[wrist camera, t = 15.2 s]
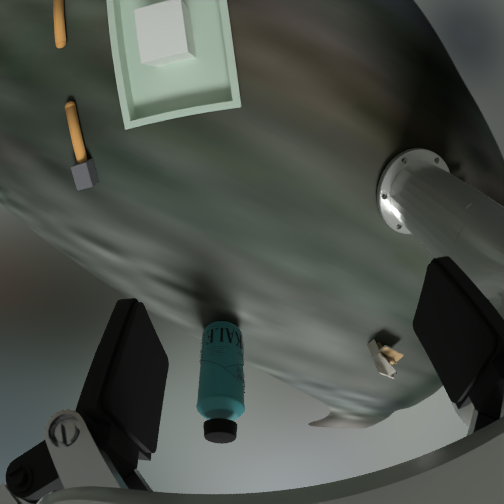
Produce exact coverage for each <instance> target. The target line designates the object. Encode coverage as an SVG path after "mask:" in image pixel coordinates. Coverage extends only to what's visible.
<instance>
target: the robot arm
mask: <svg viewBox="0 0 504 504" xmlns="http://www.w3.org/2000/svg"><path fill="white" fill-rule="evenodd" d="M377 205H378V209H379V212H380V214H381V216H382V218H383V219H384V221H385V222H386V223H387V224H388V225H389V226H390V227H391V228H392V229H394V230H395V231H397V232H400V233H403V234H413V235H414V236H415V237H416V238H417V239H418V240H419V241H420V242H421V243H422V245H423V246H424V247H425V248H426V249H427V250H428V251H429V252H430V253H431V254H432V255H433V256H434V259H433V260H432V261H431V263H430V264H429V265H428V267H427V272H426V276H425V280H424V284H423V288H422V292H421V295H420V299H419V303H418V306H417V310H416V313H415V316H414V320H413V329H414V331H415V333H416V335H417V337H418V338H419V340H420V342H421V344H422V346H423V347H424V349H425V351H426V353H427V355H428V357H429V358H430V360H431V362H432V364H433V366H434V368H435V370H436V372H437V374H438V376H439V378H440V380H441V382H442V384H443V386H444V388H445V390H446V392H447V394H448V396H449V398H450V400H451V402H452V405H453V407H454V409H455V411H456V412H457V414H458V415H459V417H460V418H461V419H462V421H463V422H464V423H465V424H466V425H467V426H469V430H468V434H467V436H466V437H464V438H462V439H460V440H458V441H456V442H454V443H451V444H449V445H447V446H445V447H442V448H440V449H438V450H435V451H433V452H430V453H428V454H425V455H423V456H421V457H418V458H415V459H412V460H409V461H407V462H404V463H401V464H398V465H395V466H392V467H389V468H386V469H383V470H379V471H376V472H372V473H369V474H365V475H361V476H357V477H353V478H349V479H345V480H341V481H336V482H331V483H326V484H321V485H316V486H310V487H303V488H296V489H289V490H281V491H272V492H262V493H246V494H178V493H163V492H153V490H152V489H151V488H150V486H149V485H148V484H147V483H146V481H145V480H144V478H143V477H142V475H141V474H140V473H139V471H138V470H137V464H138V459H139V460H151V453H155V451H156V448H157V441H158V440H157V439H158V433H159V425H160V418H161V411H162V404H163V398H164V391H165V385H166V379H167V373H168V366H169V362H168V357H167V355H166V353H165V351H164V349H163V346H162V344H161V342H160V340H159V338H158V336H157V334H156V332H155V329H154V327H153V325H152V322H151V320H150V318H149V316H148V313H147V311H146V309H145V306H144V304H143V303H142V302H138V300H137V299H135V298H132V299H121V300H118V301H117V303H116V305H115V308H114V310H113V312H112V315H111V317H110V320H109V322H108V324H107V327H106V329H105V332H104V334H103V337H102V339H101V342H100V344H99V346H98V348H97V351H96V353H95V356H94V359H93V361H92V364H91V367H90V369H89V372H88V375H87V378H86V381H85V383H84V386H83V389H82V392H81V395H80V398H79V401H78V404H77V408H76V411H73V410H69V409H67V410H61V411H59V412H56V413H55V414H54V415H53V416H52V417H51V418H50V419H49V420H48V422H47V424H46V427H45V433H44V436H45V440H44V441H43V442H41V443H39V444H38V445H36V446H35V447H33V448H32V449H30V450H29V451H27V452H26V453H24V454H23V455H21V456H19V457H18V458H16V459H15V460H13V461H12V462H11V463H10V465H9V466H8V468H7V472H6V483H7V484H4V483H2V484H1V485H0V504H504V207H503V206H501V205H500V204H498V203H497V202H495V201H494V200H492V199H491V198H489V197H488V196H486V195H485V194H483V193H482V192H480V191H478V190H477V189H475V188H474V187H472V186H470V185H469V183H465V182H464V181H462V180H460V179H459V178H457V177H455V176H454V175H452V174H450V171H449V168H448V166H447V165H446V163H445V161H444V160H443V159H442V158H441V157H440V156H439V155H437V154H436V153H434V152H432V151H430V150H427V149H423V148H413V149H408V150H406V151H404V152H401V153H400V154H398V155H397V156H396V157H394V158H393V159H392V160H391V161H390V163H389V164H388V165H387V166H386V168H385V169H384V171H383V173H382V175H381V178H380V180H379V184H378V188H377ZM501 298H502V303H501V306H500V308H499V309H498V311H497V310H496V309H495V308H494V306H493V305H492V304H491V303H490V302H489V300H488V299H501Z"/></svg>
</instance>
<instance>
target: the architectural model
mask: <svg viewBox="0 0 504 504" xmlns="http://www.w3.org/2000/svg"><path fill="white" fill-rule="evenodd" d="M368 348H369V350H370V353H371V355H372V358H373V360H374V363H375V365H376V368H377V370H378V373H380V374H383V375H385V376H388V377H390V378H393V379H395V377H394V375H393V373H394V372H395V371H396V370H395V369H394V368H393V367H392V366H391V364H392V365H393V364H394V363H395V364H397V363H396V362H397V361H398V360H399V359H400V358H402V357H403V356H404V355H403V354H402V353H400V352H398V351H396V350H394V349H392V348H390V347H388V346H386V345H385V346H384V347H383V346H382V345H381V344H380V343H379V342H378V343H377V344H376V342H375V339H373V340H372V341H371V342H370V343H368ZM396 374H397V373H396Z"/></svg>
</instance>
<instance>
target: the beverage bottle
mask: <svg viewBox="0 0 504 504" xmlns="http://www.w3.org/2000/svg"><path fill="white" fill-rule="evenodd" d="M241 333H242V332H241V331H240V329H239V328H238V327H237V326H236V325H234V324H232V323H230V322H225V321H218V322H214V323H211V324H209V325H208V326H207V327H206V328H205V330H204V332H203V336H202V337H203V338H202V340H201V341H202V350H201V362H200V364H201V367H200V377H199V389H198V402H197V410H198V412H199V413H200V414H201V415H202V416H203V417H205V418H206V419H207V421H205V422H204V436H205V439H206V440H208V441H211V442H214V443H229V442H232V441H234V440H235V439H236V432H237V424H236V422H234V420H235V419H237V418H238V417H240V416H241V415H242V414H243V413H244V411H245V406H244V393H245V392H244V387H245V386H244V379H243V378H244V376H243V365H244V364H243V362H244V361H243V360H244V358H243V354H244V353H242V349H243V347H242V346H243V345H242V344H243V343H242V337H243V336H242V334H241Z"/></svg>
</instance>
